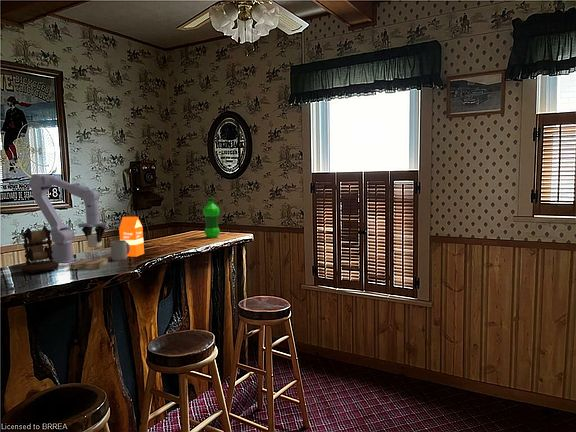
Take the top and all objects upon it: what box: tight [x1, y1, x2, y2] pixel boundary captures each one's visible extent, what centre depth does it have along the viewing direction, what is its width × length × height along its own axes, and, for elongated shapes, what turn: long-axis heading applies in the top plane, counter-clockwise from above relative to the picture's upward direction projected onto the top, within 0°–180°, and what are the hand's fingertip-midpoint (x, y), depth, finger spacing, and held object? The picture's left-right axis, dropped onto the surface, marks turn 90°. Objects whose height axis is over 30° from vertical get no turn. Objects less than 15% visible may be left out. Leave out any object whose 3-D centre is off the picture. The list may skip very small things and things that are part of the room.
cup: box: [110, 239, 130, 262], centre depth 213 cm, size 7×10×9 cm
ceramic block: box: [87, 233, 103, 248], centre depth 209 cm, size 4×4×6 cm
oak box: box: [70, 257, 109, 270], centre depth 198 cm, size 12×12×3 cm
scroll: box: [20, 225, 60, 274], centre depth 190 cm, size 15×15×20 cm
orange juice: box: [118, 216, 145, 257], centre depth 221 cm, size 8×9×20 cm
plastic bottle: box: [202, 197, 221, 239], centre depth 270 cm, size 10×10×25 cm
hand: (94, 242), depth 208 cm, fingers closed on ceramic block, 4 cm apart
